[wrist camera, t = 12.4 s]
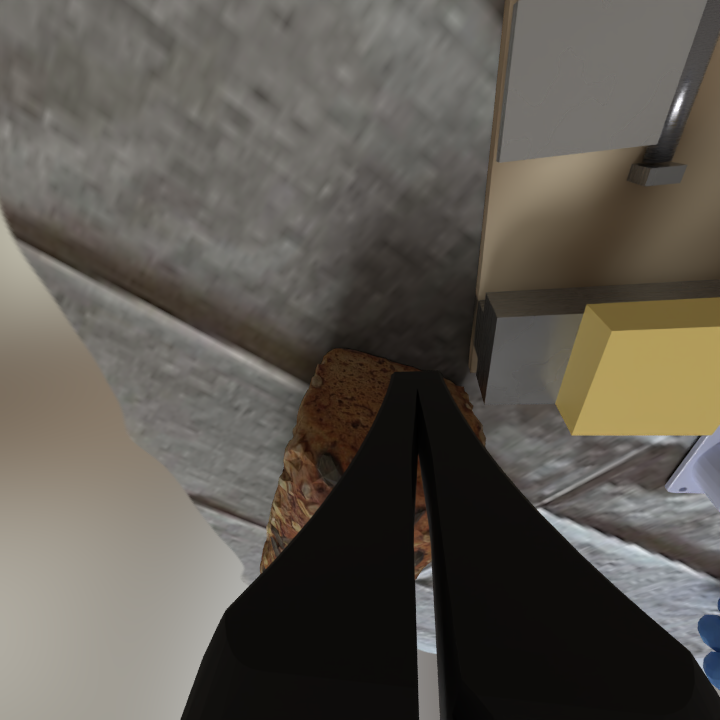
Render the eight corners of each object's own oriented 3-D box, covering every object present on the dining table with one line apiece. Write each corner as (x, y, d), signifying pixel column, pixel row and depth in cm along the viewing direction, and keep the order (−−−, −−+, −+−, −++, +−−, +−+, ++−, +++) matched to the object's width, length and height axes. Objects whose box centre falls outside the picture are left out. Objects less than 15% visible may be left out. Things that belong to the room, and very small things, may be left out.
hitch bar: (997, -137, 9) (1518, -352, 5) (707, 344, 19) (799, 414, 14) (509, -42, 11) (577, -137, 7) (469, 351, 20) (487, 416, 16)
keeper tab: (741, -61, 10) (769, -74, 9) (661, 158, 13) (678, 160, 12) (514, -21, 11) (524, -31, 10) (493, 177, 14) (498, 180, 13)
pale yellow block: (682, 261, 15) (795, 323, 11) (637, 357, 18) (711, 435, 14) (554, 270, 16) (612, 330, 12) (532, 360, 19) (571, 435, 15)
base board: (961, -130, 9) (1002, -147, 9) (683, 358, 19) (692, 367, 19) (509, -42, 11) (515, -51, 10) (468, 364, 21) (470, 372, 20)
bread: (323, 332, 21) (275, 469, 13) (479, 380, 22) (524, 533, 14) (281, 487, 32) (242, 612, 24) (386, 514, 33) (381, 642, 25)
